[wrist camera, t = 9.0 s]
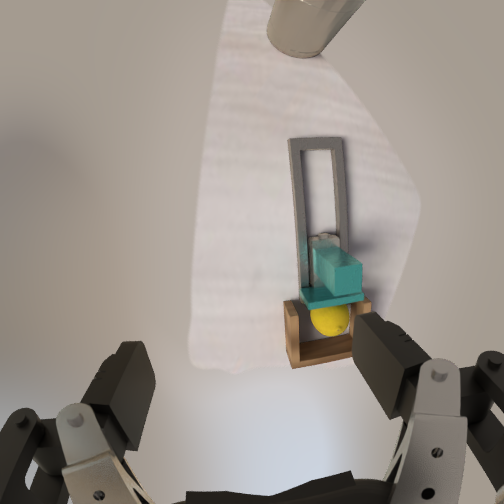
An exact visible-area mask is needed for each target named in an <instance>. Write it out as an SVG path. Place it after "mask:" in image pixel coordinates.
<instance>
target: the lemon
mask: <svg viewBox="0 0 504 504" xmlns="http://www.w3.org/2000/svg"><path fill="white" fill-rule="evenodd" d="M310 316H311V321H312V323H313V325H314V326H315V328H316V329H317V330H318V331H319V332H320V333H321V334H323V335H326V336H337V335H339V334H341V333H342V332H344V331H345V329H346V328H347V326H348V324H349V318H350V316H349V311H348V308H347V306H346V304H342V305H336V306H331V307H325V308H319V309H313V310H310Z"/></svg>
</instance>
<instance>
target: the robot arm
mask: <svg viewBox="0 0 504 504" xmlns="http://www.w3.org/2000/svg"><path fill="white" fill-rule="evenodd" d="M364 1H366V0H275V2H274V5H273V9H272V12H271V15H270V19H269V22H268V26H267V35H268V38H269V40H270V42H271V43H272V44H273V45H274V46H275V47H276V48H277V49H278V50H279V51H281V52H283V53H285V54H287V55H289V56H293V57H297V58H309V57H313V56H316V55H318V54H319V53H320V52H322V51H323V50H324V48H325V47H326V46H327V45H328V43H329V42H330V41H331V40H332V38H334V36H335V35H336V34H337V33H338V31H339V30H340V29H341V28H342V27H343V26H344V25H345V23H346V22H347V21H348V20H349V19H350V18H351V16H352V15H353V14H354V13H355V12H356V11H357V10H358V9H359V7H360V6H361V5H362V4H363V3H364ZM352 356H353V360H354V363H355V365H356V366H357V368H358V369H359V371H360V372H361V374H362V376H363V377H364V379H365V381H366V382H367V384H368V385H369V387H370V389H371V390H372V392H373V394H374V395H375V397H376V398H377V400H378V402H379V403H380V405H381V406H382V408H383V410H384V411H385V413H386V415H387V416H388V418H389V419H390V420H391V419H393V418H396V417H399V416H401V417H402V419H403V422H402V425H401V429H400V432H399V436H398V439H397V442H396V446H395V449H394V452H393V456H392V459H391V462H390V465H389V467H388V470H387V472H386V474H385V477H384V478H383V481H381V480H375V479H354V478H353V475H352V473H351V471H347V472H344V473H340V474H336V475H332V476H328V477H324V478H320V479H315V480H311V481H309V482H307V483H304V484H302V485H299V486H297V487H294V488H292V489H289V490H287V491H284V492H281V493H278V494H275V495H272V496H261V495H251V494H242V493H235V492H229V491H218V492H217V491H216V492H215V491H214V492H194V491H186V501H181V502H177V503H174V504H458V500H459V495H460V490H461V484H462V478H463V471H464V463H465V453H466V443H467V444H468V446H469V447H470V449H471V451H472V452H473V454H474V455H475V457H476V458H477V460H478V461H479V463H480V465H481V466H482V468H483V470H484V471H485V473H486V475H487V476H488V478H489V480H490V481H491V483H492V485H493V486H494V488H495V490H496V492H497V495H496V501H495V502H496V503H495V504H504V426H503V425H502V424H501V423H500V421H499V420H498V419H497V418H496V416H495V415H494V414H493V413H492V411H491V410H490V409H491V407H492V405H493V404H494V402H495V403H496V404H497V406H498V407H499V408H500V409H501V410H502V412H503V413H504V354H502V353H500V352H497V351H486V352H483V353H482V354H480V356H479V357H478V360H477V363H476V365H475V366H471V367H465V368H458V367H457V366H456V365H455V364H454V363H453V362H451V361H448V360H446V359H439V358H438V359H432V358H431V357H430V356H429V355H428V354H427V353H426V352H425V351H423V349H422V348H421V347H420V346H419V345H418V344H417V343H416V342H415V341H414V340H412V338H411V337H410V336H409V335H408V334H407V335H406V332H405V331H404V330H403V329H402V328H401V327H400V326H398V325H396V324H394V323H392V322H390V321H384V320H383V319H382V318H381V317H380V316H379V315H378V314H377V313H376V312H374V311H373V312H369V313H364V314H359V315H356V316H355V318H354V328H353V341H352ZM155 382H156V381H155V374H154V371H153V368H152V365H151V363H150V360H149V357H148V354H147V351H146V348H145V345H144V344H143V342H142V341H126V342H122V343H121V345H120V347H119V348H118V350H117V352H116V354H112V355H111V356H109V357H108V358H107V359H106V360H105V361H104V362H103V363H102V365H101V366H100V368H99V370H98V372H97V373H96V375H95V377H94V379H93V380H92V382H91V384H90V386H89V388H88V389H87V391H86V393H85V395H84V396H83V398H82V400H81V402H80V403H74V404H70V405H68V406H66V407H65V408H63V409H62V410H61V411H60V412H59V413H58V415H57V417H56V418H53V419H42V420H40V418H39V417H38V415H37V414H36V413H35V411H34V410H32V409H30V408H22V409H18V410H16V411H15V412H13V413H12V414H11V415H10V417H9V418H8V420H7V421H6V423H5V425H4V427H3V428H2V430H1V432H0V504H67V503H68V499H69V495H70V497H71V500H72V502H73V504H155V503H154V502H153V501H152V499H151V498H150V497H149V495H148V494H147V492H146V491H145V489H144V488H143V486H142V485H141V483H140V482H139V480H138V479H137V477H136V475H135V474H134V472H133V471H132V469H131V467H130V466H129V464H128V462H127V460H126V459H125V458H124V454H125V451H126V450H130V451H138V447H139V443H140V439H141V436H142V432H143V428H144V425H145V421H146V417H147V414H148V410H149V407H150V403H151V400H152V397H153V393H154V390H155V384H156V383H155ZM32 459H33V460H34V461H35V462H36V463H37V464H38V465H39V466H38V469H37V472H36V474H35V477H34V479H33V482H32V485H31V487H30V490H28V488H27V487H26V484H25V476H26V473H27V471H28V468H29V466H30V464H31V461H32Z"/></svg>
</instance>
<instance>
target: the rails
mask: <svg viewBox="0 0 504 504" xmlns="http://www.w3.org/2000/svg"><path fill="white" fill-rule="evenodd" d="M287 141H288V150H289V160H290V170H291V180H292V192H293V204H294V216H295V230H296V245H297V261H298V280H299V300H300V302H301V304H304V301H303V300H302V298H301V296H300V289H301V288H308V287H309V273H308V251H307V233H306V218H305V204H304V191H303V179H302V168H301V158H300V151H304V150H331V156H332V167H333V179H334V194H335V211H336V234H337V237H339V238H340V248H341V249H342V250H344V251H345V252H346V253H348V226H347V202H346V185H345V172H344V160H343V149H342V140H341V137H330V138H295V139H288V140H287Z"/></svg>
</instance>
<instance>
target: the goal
mask: <svg viewBox="0 0 504 504" xmlns="http://www.w3.org/2000/svg"><path fill="white" fill-rule="evenodd" d="M283 303H284V318H285V335H286V351H287V355H288V358H289V361H290V364H291V367H292V369H295V368H301V367H306V366H312V365H317V364H322V363H327V362H332V361H336V360H341V359H345V358H349V357H353V356H352V341H353V328H354V318H355V316H356V315H359V314H364V313H369V312H371V301H370V300H368V299H367V298H366V297H365V296H364V300H363V301H358V302H353V303H351V313H350V329H349V334H345V335H341V336H336V337H331V338H325V339H320V340H315V341H309V342H303V343H299V319H298V314H297V312H296V309H295V307H294V305H293V303H292V301H291V300H290V301H283Z"/></svg>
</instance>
